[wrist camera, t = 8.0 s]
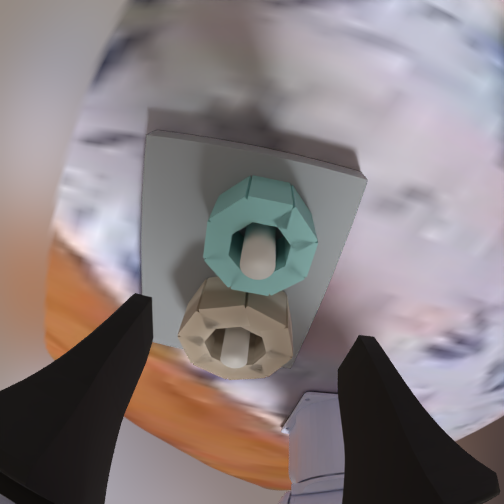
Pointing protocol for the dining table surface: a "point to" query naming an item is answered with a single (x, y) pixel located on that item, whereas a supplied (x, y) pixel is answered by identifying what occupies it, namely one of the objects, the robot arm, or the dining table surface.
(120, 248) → the dining table surface
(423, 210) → the dining table surface
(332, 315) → the dining table surface
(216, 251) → the teal octagonal nut
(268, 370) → the tan octagonal nut
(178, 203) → the board
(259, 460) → the dining table surface
